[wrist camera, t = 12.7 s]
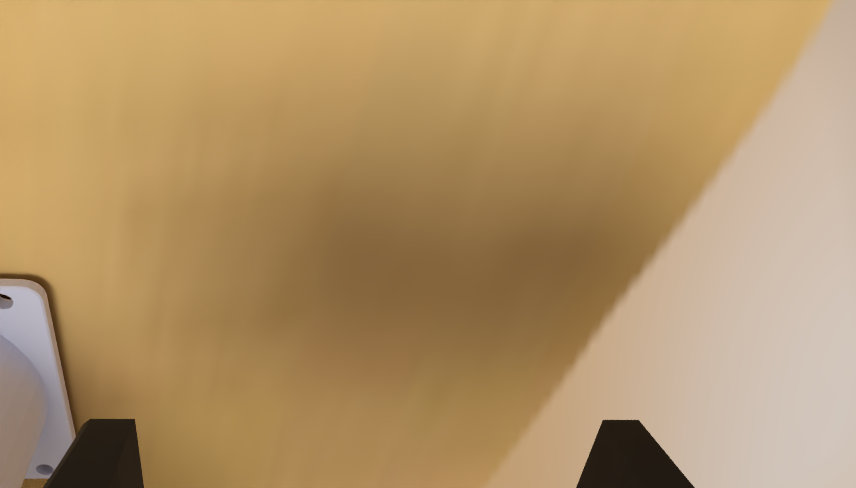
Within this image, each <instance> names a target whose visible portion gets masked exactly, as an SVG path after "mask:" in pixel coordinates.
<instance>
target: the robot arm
mask: <svg viewBox="0 0 856 488" xmlns="http://www.w3.org/2000/svg"><path fill="white" fill-rule="evenodd" d="M0 294H4V295H7V296H9V297H10V298H11V299H10V300H9V299H4V298H2V297H1V296H0V488H21V487H22V484H23V481H24V479H48V481H47V482H46V484H45V485H44V487H43V488H144V484H143V477H142V469H141V462H140V455H139V447H138V440H137V432H136V425H135V419H90V420H89V421H87V422H86V423H85V424H83V426H82V427H81V429H80V431H79V432H78V434H77V436H76V435H75V430H74V425H73V420H72V415H71V410H70V405H69V401H68V396H67V391H66V386H65V381H64V376H63V371H62V366H61V362H60V357H59V352H58V347H57V342H56V337H55V332H54V328H53V323H52V318H51V313H50V308H49V303H48V298H47V294H46V292H45V290H44V288H43V287H42V286H40V285H39V284H38V283H36V282H33V281H31V280H25V279H0ZM576 488H694V486H693V485H692V484H691V483H690V482H689V480H688V479H687V478H686V477H685V476H684V474H683V473H682V472H681V471H680V470H679V468H678V467H677V466H676V465H675V464H674V462H673V461H672V460H671V459H670V457H669V456H668V455H667V454H666V453H665V451H664V450H663V449H662V448H661V447H660V445H659V444H658V443H657V442H656V441H655V439H654V438H653V437H652V436H651V435H650V433H649V432H648V431H647V430H646V429H645V427H644V426H643V425H642V424H641V423H640V421H639V420H603V421H602V424H601V426H600V429H599V431H598V434H597V436H596V439H595V442H594V444H593V447H592V449H591V452H590V454H589V457H588V459H587V462H586V464H585V467H584V469H583V472H582V474H581V477H580V480H579V482H578V485H577V487H576Z"/></svg>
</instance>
